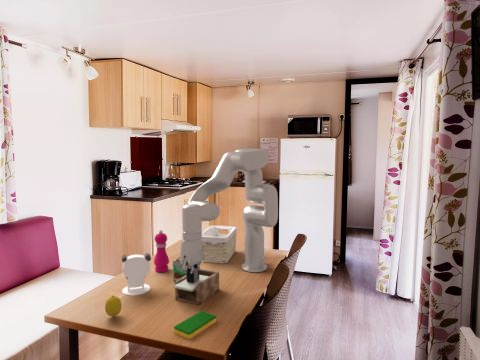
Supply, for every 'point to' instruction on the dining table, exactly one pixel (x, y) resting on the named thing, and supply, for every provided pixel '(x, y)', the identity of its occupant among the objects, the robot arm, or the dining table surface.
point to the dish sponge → (194, 324)
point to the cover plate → (191, 286)
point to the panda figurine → (136, 273)
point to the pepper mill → (161, 253)
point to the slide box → (199, 288)
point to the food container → (178, 270)
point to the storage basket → (218, 244)
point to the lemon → (113, 306)
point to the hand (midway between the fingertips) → (193, 280)
